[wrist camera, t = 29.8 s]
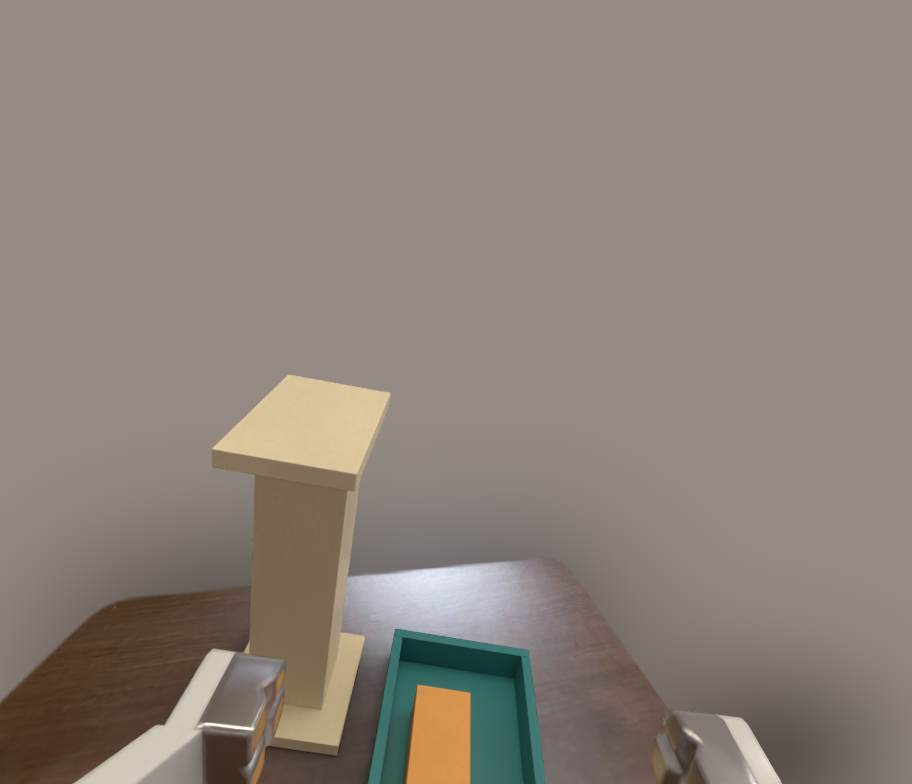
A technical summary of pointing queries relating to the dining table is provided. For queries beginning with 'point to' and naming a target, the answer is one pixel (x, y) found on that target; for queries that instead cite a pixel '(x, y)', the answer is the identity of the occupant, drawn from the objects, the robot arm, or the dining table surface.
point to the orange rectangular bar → (438, 737)
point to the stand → (305, 543)
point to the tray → (491, 706)
